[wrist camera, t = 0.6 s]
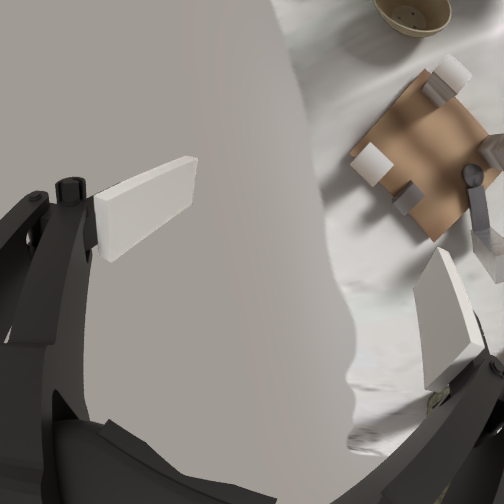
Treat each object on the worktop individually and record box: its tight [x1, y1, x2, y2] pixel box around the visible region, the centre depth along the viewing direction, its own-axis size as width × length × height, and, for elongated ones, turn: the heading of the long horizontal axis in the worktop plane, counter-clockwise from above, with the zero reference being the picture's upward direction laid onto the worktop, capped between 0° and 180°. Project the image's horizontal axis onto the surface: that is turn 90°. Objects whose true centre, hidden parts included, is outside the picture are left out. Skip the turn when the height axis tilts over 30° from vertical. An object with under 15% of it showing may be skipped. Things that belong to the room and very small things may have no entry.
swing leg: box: [461, 163, 504, 284], centre depth 23 cm, size 11×3×10 cm, turn 22°
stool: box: [350, 53, 504, 242], centre depth 25 cm, size 16×16×12 cm
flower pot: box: [373, 0, 452, 37], centre depth 21 cm, size 10×10×7 cm
